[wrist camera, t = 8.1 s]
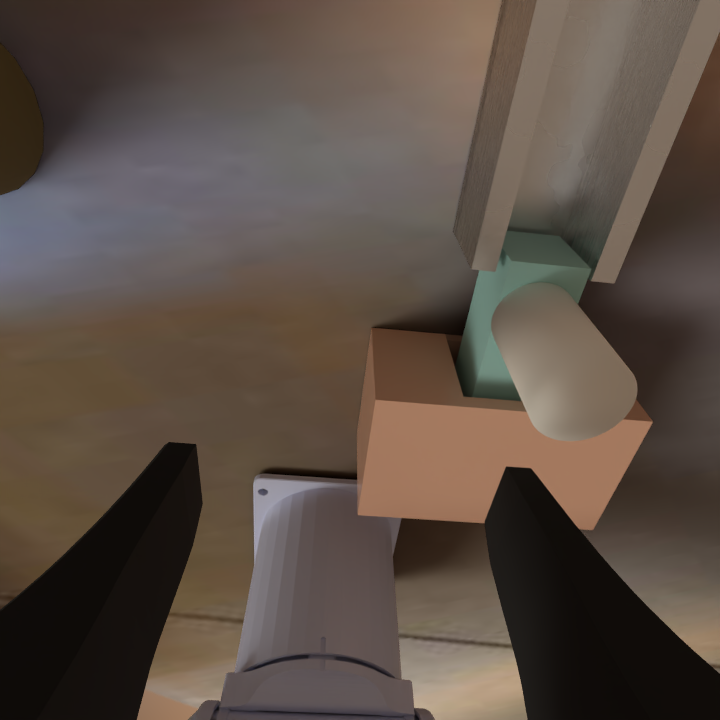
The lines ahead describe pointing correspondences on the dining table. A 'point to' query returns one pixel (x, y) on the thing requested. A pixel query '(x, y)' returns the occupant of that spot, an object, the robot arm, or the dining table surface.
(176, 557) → the robot arm
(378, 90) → the dining table surface
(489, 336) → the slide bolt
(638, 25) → the grey u-channel
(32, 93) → the cork
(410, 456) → the socket block
